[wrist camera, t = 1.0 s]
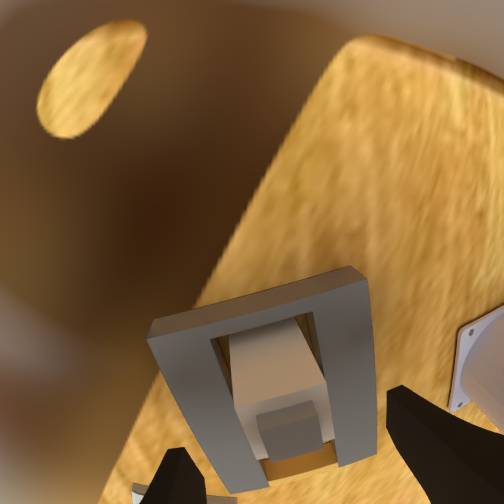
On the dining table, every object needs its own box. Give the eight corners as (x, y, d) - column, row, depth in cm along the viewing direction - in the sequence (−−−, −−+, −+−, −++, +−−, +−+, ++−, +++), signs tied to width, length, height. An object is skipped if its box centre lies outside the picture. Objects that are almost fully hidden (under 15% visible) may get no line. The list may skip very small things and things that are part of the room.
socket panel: (350, 265, 16) (367, 278, 14) (366, 434, 19) (376, 453, 17) (153, 319, 15) (146, 339, 13) (228, 472, 19) (230, 494, 17)
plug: (290, 310, 16) (333, 396, 9) (301, 360, 17) (340, 452, 10) (228, 327, 16) (235, 423, 9) (244, 376, 17) (258, 474, 10)
